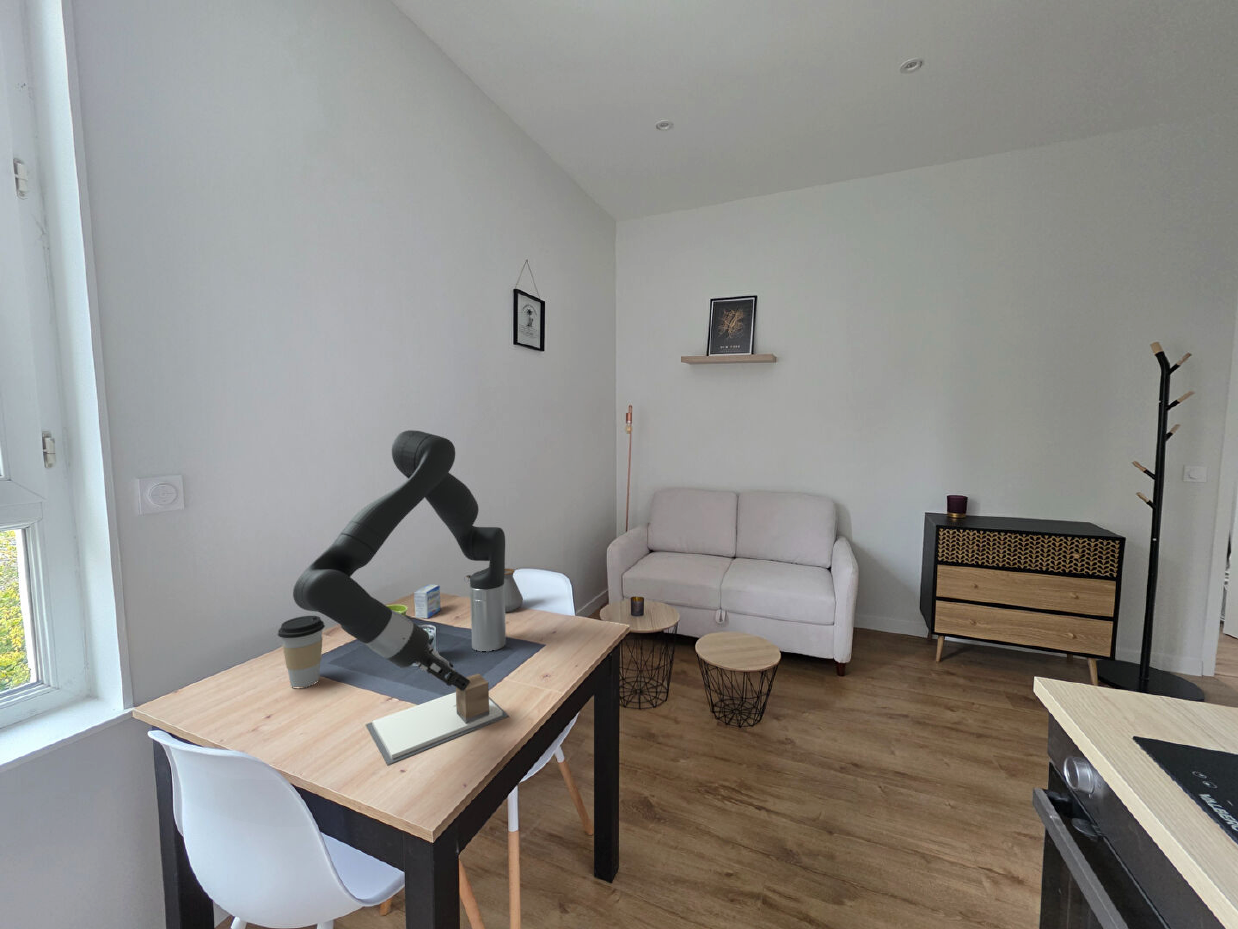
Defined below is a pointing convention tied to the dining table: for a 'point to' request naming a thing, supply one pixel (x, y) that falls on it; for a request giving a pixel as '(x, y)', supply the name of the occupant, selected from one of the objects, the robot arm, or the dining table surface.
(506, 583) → the coffee pot
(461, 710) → the block
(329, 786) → the dining table surface
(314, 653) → the coffee cup
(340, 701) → the dining table surface
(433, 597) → the medicine box
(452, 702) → the board
